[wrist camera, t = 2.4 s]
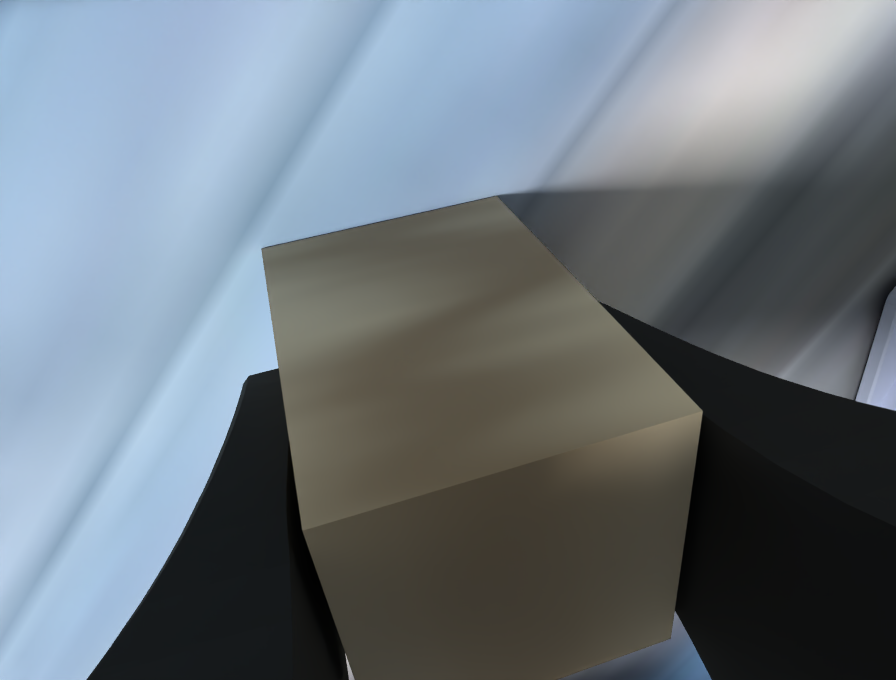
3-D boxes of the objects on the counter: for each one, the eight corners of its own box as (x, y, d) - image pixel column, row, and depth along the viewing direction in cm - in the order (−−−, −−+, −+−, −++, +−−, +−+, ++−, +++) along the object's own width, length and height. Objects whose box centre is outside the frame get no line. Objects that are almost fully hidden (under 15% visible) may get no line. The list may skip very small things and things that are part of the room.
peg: (497, 195, 12) (703, 411, 7) (509, 379, 14) (670, 638, 9) (261, 248, 11) (302, 531, 6) (316, 433, 13) (377, 744, 8)
